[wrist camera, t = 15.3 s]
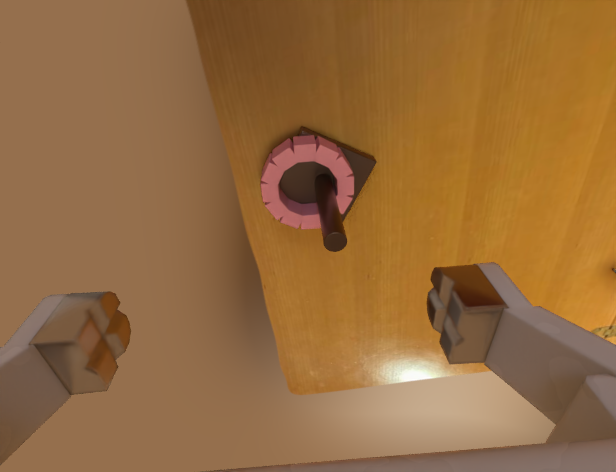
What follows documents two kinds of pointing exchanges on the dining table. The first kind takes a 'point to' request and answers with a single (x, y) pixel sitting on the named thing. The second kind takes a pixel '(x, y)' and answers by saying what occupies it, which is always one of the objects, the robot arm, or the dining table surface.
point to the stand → (326, 189)
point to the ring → (304, 152)
